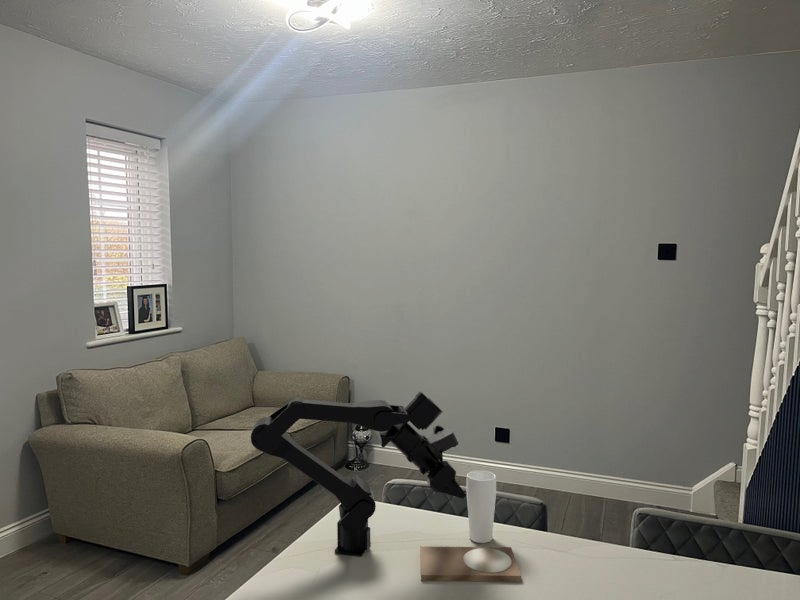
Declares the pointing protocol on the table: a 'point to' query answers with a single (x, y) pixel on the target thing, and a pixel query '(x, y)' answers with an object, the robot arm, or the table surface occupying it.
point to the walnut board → (468, 564)
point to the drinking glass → (481, 505)
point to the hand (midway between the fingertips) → (459, 489)
